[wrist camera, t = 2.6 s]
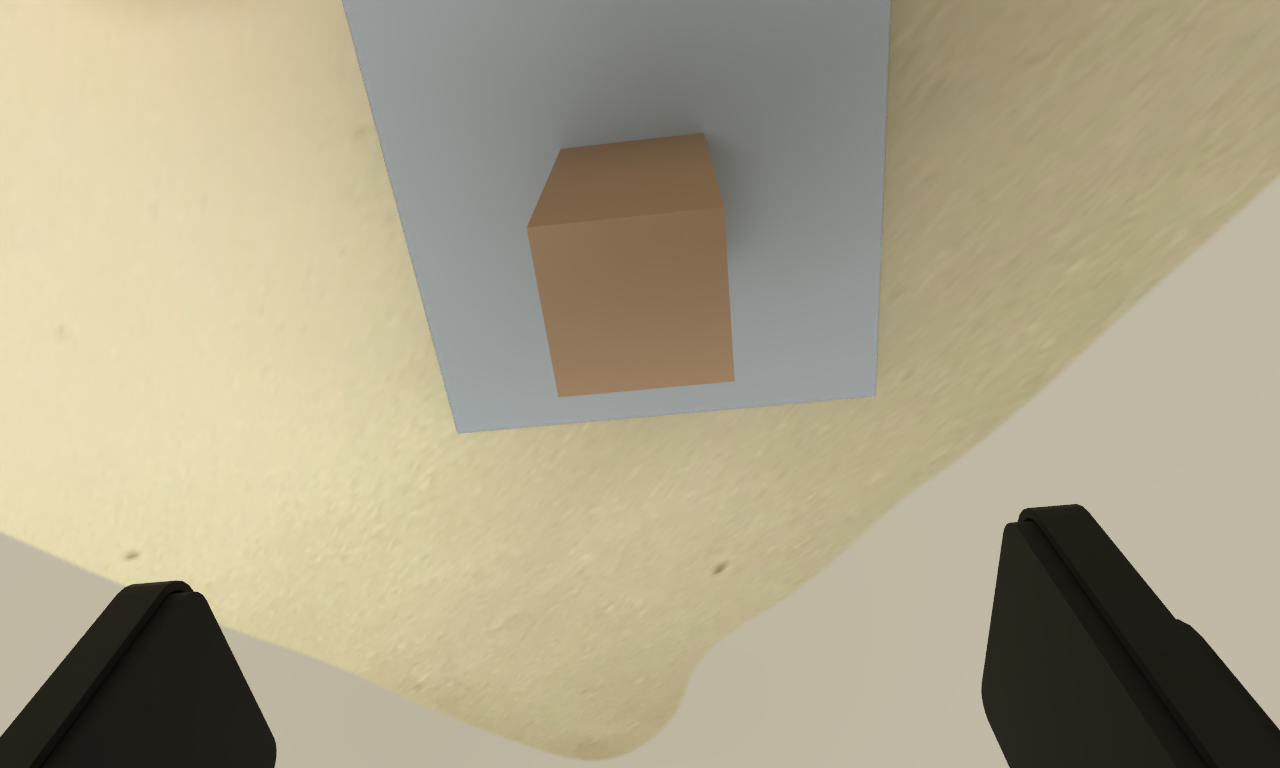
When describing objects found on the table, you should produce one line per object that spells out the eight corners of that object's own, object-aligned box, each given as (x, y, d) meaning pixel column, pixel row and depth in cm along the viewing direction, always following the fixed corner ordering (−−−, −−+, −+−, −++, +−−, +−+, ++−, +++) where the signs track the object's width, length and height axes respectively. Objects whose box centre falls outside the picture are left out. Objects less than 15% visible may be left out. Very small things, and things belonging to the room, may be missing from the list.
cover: (882, -100, 20) (1010, -123, 13) (866, 378, 27) (944, 536, 20) (349, -31, 21) (195, -17, 14) (464, 415, 28) (400, 578, 21)
